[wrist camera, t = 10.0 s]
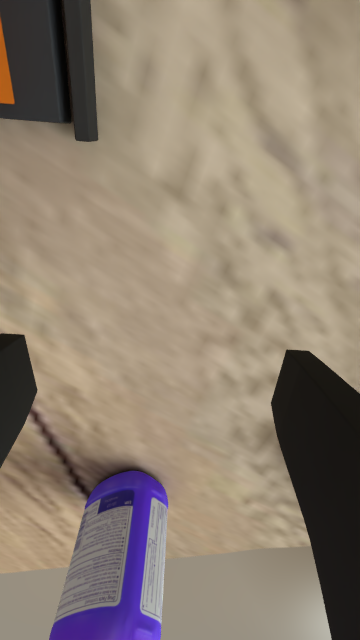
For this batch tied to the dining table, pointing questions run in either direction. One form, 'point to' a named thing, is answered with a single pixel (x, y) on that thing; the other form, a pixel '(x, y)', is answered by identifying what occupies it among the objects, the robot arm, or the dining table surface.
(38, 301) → the dining table surface
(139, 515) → the bottle
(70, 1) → the base pad
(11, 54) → the connector pad
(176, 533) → the dining table surface
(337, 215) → the dining table surface
